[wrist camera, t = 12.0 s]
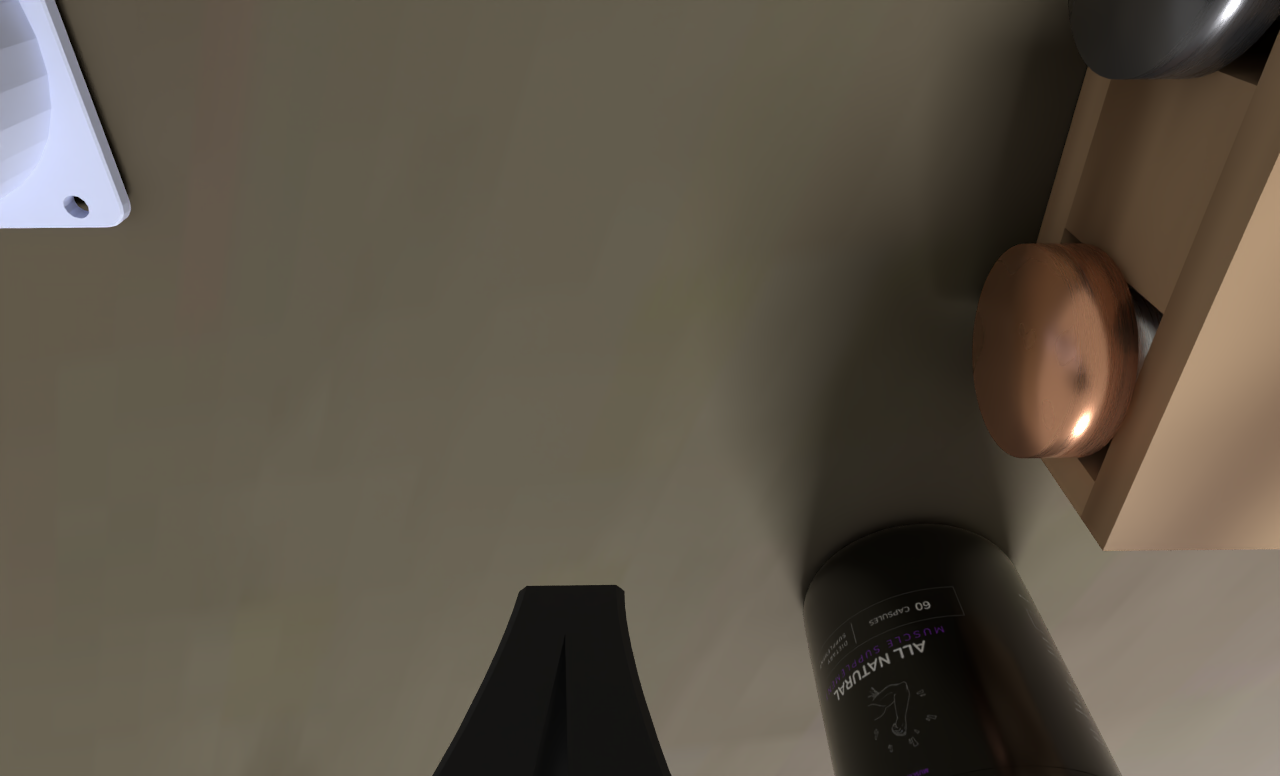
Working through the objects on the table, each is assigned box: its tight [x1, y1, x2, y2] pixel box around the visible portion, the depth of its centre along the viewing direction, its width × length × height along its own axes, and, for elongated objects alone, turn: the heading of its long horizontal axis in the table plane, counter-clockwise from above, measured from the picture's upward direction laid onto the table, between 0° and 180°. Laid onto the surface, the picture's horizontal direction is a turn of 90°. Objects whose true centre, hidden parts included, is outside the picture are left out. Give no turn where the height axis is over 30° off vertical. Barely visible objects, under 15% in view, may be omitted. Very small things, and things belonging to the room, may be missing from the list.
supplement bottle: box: [803, 524, 1122, 776], centre depth 21 cm, size 7×7×12 cm
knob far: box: [972, 243, 1163, 458], centre depth 17 cm, size 7×5×5 cm
